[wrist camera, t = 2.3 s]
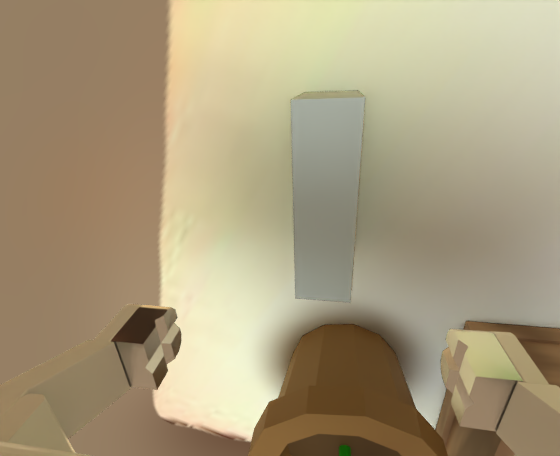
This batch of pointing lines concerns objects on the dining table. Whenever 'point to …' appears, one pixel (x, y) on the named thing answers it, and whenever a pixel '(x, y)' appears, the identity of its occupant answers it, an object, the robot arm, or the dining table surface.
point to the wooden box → (487, 444)
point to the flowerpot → (344, 402)
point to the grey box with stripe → (326, 191)
